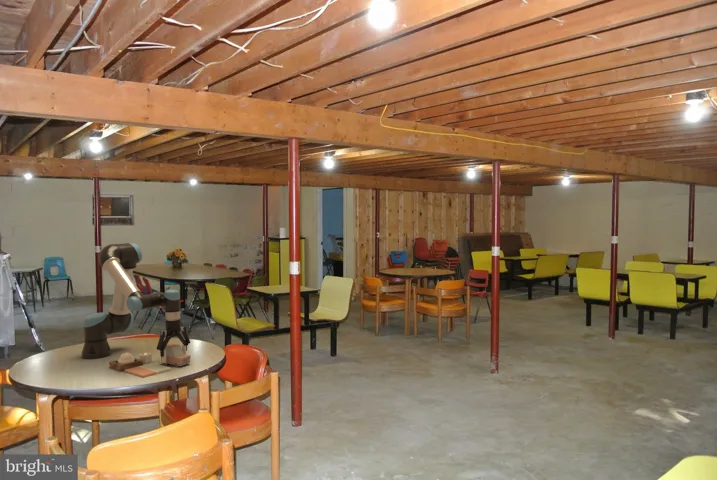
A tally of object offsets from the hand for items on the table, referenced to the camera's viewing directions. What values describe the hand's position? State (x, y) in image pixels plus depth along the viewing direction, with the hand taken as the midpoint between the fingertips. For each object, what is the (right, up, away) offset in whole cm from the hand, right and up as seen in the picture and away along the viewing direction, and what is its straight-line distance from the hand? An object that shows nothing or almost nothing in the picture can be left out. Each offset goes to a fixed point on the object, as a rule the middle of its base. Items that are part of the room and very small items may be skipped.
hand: (174, 359), depth 289 cm
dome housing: (-24, -3, -4) cm, 24 cm away
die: (-17, -2, +4) cm, 18 cm away
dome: (-24, -2, -4) cm, 24 cm away
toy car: (+1, -3, 0) cm, 3 cm away
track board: (-9, -3, -12) cm, 15 cm away
